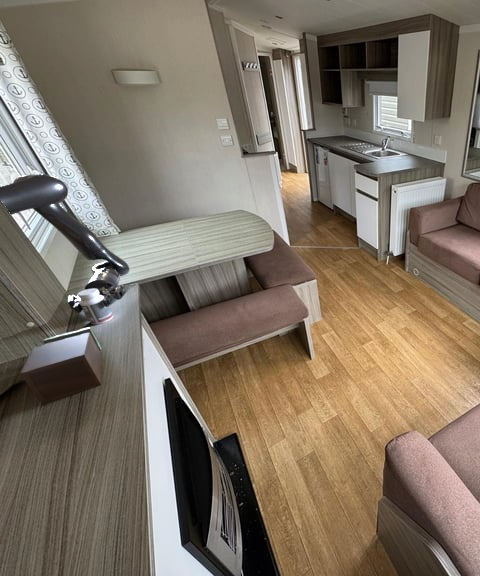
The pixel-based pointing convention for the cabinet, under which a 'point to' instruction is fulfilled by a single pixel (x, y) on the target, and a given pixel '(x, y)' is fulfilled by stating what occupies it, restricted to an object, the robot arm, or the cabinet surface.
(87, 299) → the pill bottle
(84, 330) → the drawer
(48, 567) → the cabinet surface
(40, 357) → the cabinet
